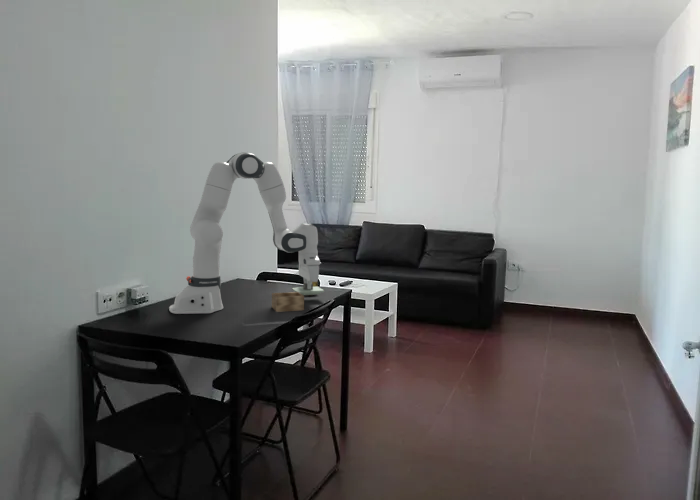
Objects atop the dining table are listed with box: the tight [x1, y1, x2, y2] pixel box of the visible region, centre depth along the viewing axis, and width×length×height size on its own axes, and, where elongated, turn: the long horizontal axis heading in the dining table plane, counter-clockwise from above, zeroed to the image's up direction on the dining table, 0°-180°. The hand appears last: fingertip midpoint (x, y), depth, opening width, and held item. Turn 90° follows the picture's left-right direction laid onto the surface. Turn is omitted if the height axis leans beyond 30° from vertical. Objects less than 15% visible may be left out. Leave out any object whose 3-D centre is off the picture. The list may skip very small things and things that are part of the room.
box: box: [271, 291, 305, 313], centre depth 253 cm, size 12×9×7 cm
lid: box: [291, 283, 325, 296], centre depth 270 cm, size 13×10×4 cm
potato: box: [303, 281, 319, 297], centre depth 287 cm, size 8×13×8 cm, turn 163°
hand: (307, 288), depth 270 cm, fingers closed on lid, 2 cm apart
